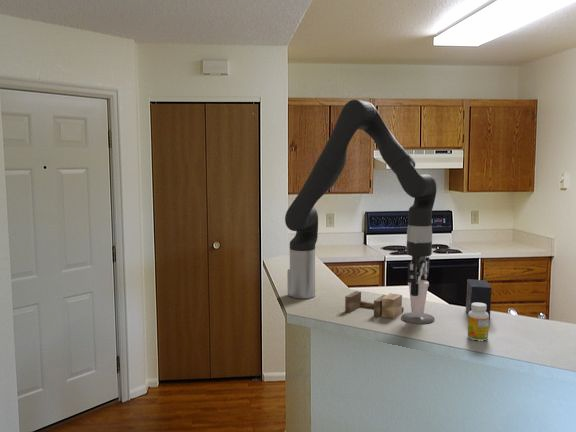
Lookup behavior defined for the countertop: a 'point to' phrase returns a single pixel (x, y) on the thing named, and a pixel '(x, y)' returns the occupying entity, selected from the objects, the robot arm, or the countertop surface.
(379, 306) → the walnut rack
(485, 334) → the supplement bottle
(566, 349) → the countertop surface
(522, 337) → the countertop surface
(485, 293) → the small box
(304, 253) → the robot arm
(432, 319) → the coaster
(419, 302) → the smoothie
